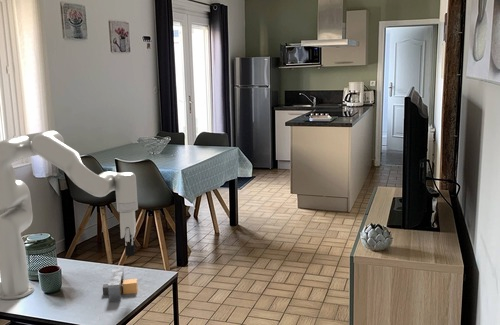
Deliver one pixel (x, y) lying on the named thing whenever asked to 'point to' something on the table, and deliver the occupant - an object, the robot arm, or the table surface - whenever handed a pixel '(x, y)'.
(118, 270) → the grey notched block
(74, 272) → the table surface
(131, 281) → the cable plug
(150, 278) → the table surface
